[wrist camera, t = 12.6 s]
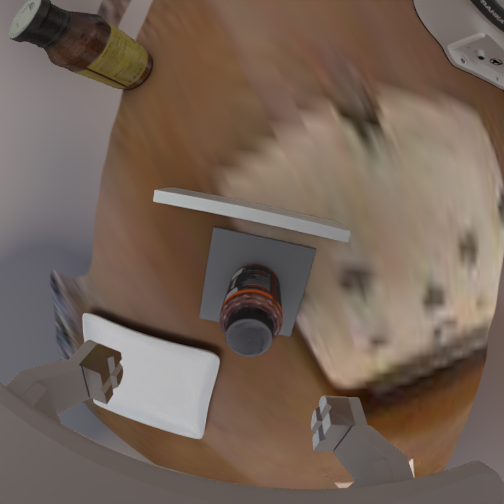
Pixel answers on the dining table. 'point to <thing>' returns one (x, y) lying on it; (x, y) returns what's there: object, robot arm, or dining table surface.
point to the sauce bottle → (82, 43)
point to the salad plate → (157, 378)
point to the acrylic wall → (252, 212)
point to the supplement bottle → (252, 310)
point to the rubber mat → (255, 252)
